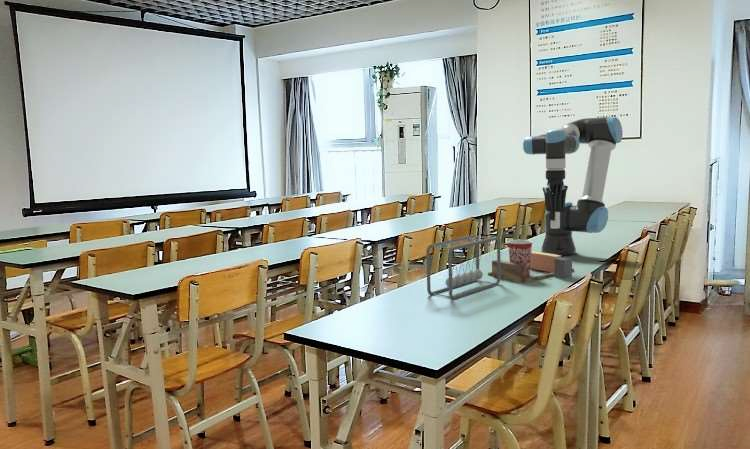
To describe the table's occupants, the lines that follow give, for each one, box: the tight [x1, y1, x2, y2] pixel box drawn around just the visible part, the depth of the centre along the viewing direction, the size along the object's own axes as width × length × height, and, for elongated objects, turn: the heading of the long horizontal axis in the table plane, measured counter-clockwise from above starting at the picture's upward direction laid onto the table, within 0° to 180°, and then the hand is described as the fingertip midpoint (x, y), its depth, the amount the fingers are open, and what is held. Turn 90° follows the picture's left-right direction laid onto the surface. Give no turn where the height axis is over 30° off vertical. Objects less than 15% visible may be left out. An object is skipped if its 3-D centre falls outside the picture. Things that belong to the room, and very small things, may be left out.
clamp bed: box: [487, 259, 575, 284], centre depth 233 cm, size 29×18×6 cm, turn 125°
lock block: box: [554, 256, 573, 280], centre depth 225 cm, size 4×4×7 cm
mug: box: [507, 239, 533, 279], centre depth 230 cm, size 13×9×14 cm
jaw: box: [530, 250, 562, 273], centre depth 237 cm, size 3×14×7 cm, turn 35°
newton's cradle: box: [425, 234, 502, 300], centre depth 210 cm, size 30×10×18 cm, turn 135°
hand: (555, 227), depth 240 cm, fingers closed
